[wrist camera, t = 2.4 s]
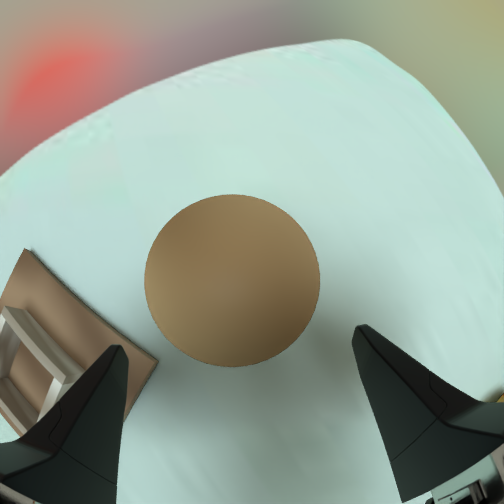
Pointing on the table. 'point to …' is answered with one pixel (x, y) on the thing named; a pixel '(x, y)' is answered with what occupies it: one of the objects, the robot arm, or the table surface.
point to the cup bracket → (52, 345)
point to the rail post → (232, 280)
